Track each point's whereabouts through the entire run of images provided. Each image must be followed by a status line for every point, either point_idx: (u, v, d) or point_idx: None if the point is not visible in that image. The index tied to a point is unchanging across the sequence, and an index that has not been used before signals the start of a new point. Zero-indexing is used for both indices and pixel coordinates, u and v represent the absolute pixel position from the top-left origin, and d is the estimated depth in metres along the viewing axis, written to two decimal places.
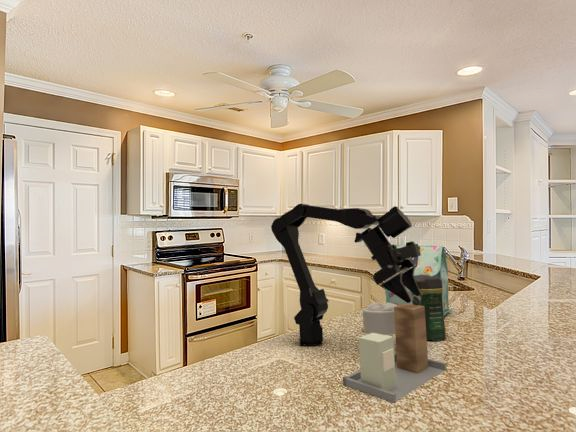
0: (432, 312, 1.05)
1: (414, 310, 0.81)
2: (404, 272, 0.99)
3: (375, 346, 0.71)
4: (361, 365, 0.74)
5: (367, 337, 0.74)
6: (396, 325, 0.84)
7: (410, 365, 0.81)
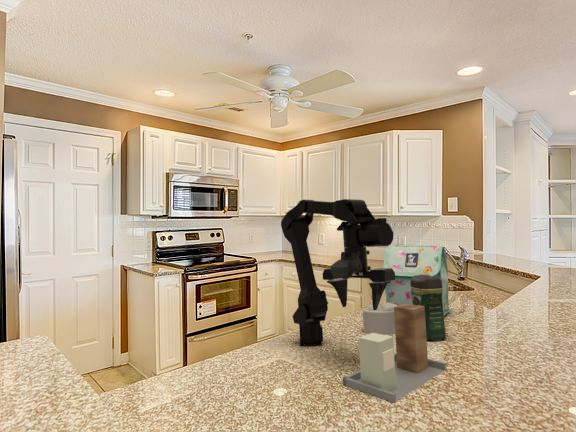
0: (432, 312, 1.05)
1: (414, 310, 0.81)
2: None
3: (375, 346, 0.71)
4: (361, 365, 0.74)
5: (367, 337, 0.74)
6: (396, 325, 0.84)
7: (410, 365, 0.81)
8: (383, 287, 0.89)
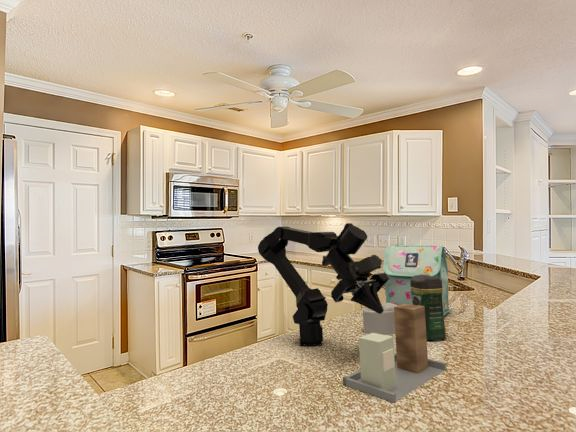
0: (432, 312, 1.05)
1: (414, 310, 0.81)
2: None
3: (375, 346, 0.71)
4: (361, 365, 0.74)
5: (367, 337, 0.74)
6: (396, 325, 0.84)
7: (410, 365, 0.81)
8: None
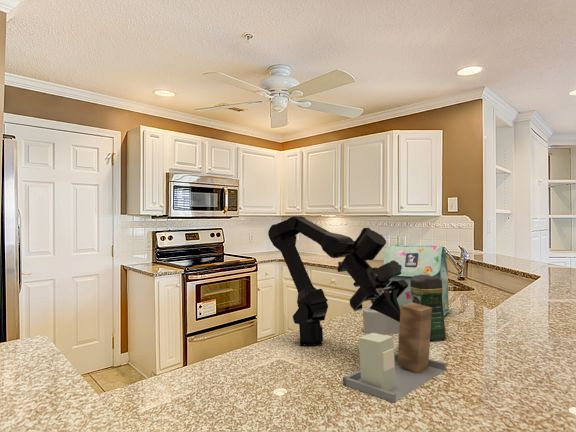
0: (432, 312, 1.05)
1: (421, 311, 0.79)
2: None
3: (375, 346, 0.71)
4: (361, 365, 0.74)
5: (367, 337, 0.74)
6: (401, 324, 0.83)
7: (411, 364, 0.81)
8: None
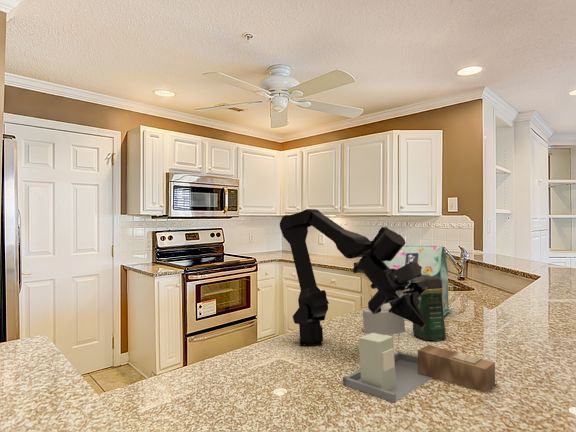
0: (432, 312, 1.05)
1: None
2: None
3: (375, 346, 0.71)
4: (361, 365, 0.74)
5: (367, 337, 0.74)
6: (463, 365, 0.72)
7: (423, 367, 0.79)
8: None
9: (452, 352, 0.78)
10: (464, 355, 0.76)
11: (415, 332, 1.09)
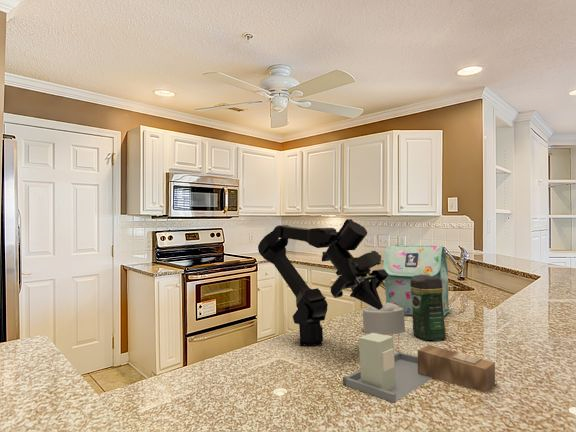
0: (432, 312, 1.05)
1: None
2: None
3: (375, 346, 0.71)
4: (361, 365, 0.74)
5: (367, 337, 0.74)
6: (463, 365, 0.72)
7: (423, 367, 0.79)
8: None
9: (452, 352, 0.78)
10: (464, 355, 0.76)
11: (415, 332, 1.09)
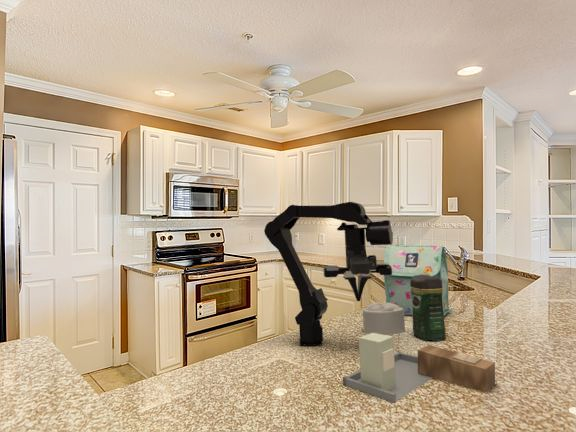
0: (432, 312, 1.05)
1: None
2: (360, 276, 1.02)
3: (375, 346, 0.71)
4: (361, 365, 0.74)
5: (367, 337, 0.74)
6: (463, 365, 0.72)
7: (423, 367, 0.79)
8: None
9: (452, 352, 0.78)
10: (464, 355, 0.76)
11: (415, 332, 1.09)
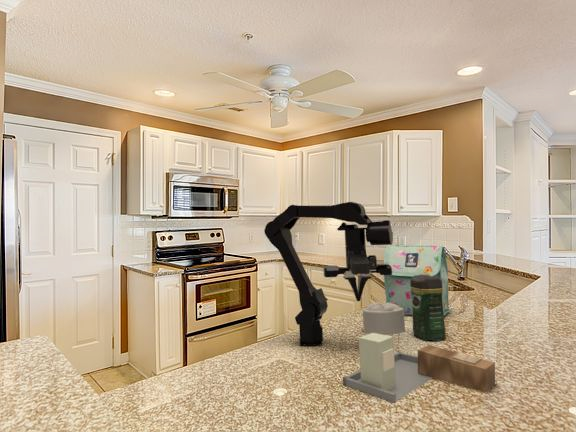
0: (432, 312, 1.05)
1: None
2: (360, 276, 1.02)
3: (375, 346, 0.71)
4: (361, 365, 0.74)
5: (367, 337, 0.74)
6: (463, 365, 0.72)
7: (423, 367, 0.79)
8: None
9: (452, 352, 0.78)
10: (464, 355, 0.76)
11: (415, 332, 1.09)
